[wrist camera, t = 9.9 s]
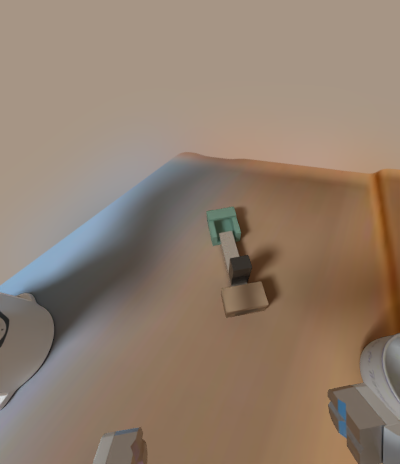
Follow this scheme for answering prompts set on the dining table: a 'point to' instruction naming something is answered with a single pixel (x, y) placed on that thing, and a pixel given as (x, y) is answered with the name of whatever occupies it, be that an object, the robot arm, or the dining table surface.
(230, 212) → the green slotted block
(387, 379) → the teacup
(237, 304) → the socket block
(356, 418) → the robot arm
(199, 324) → the dining table surface
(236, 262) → the two-tone rectangular rod
